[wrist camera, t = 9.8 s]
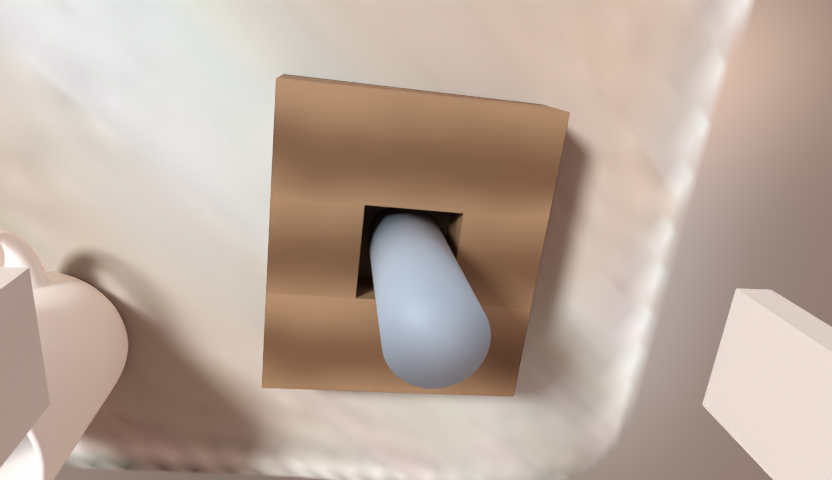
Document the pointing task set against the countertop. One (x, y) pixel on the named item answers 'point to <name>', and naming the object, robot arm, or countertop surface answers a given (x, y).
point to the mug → (65, 362)
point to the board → (400, 188)
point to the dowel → (424, 302)
